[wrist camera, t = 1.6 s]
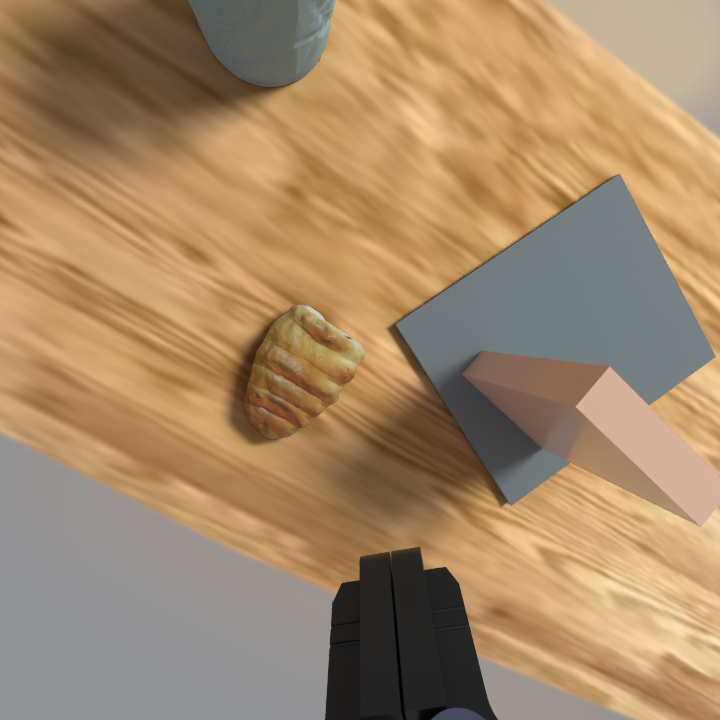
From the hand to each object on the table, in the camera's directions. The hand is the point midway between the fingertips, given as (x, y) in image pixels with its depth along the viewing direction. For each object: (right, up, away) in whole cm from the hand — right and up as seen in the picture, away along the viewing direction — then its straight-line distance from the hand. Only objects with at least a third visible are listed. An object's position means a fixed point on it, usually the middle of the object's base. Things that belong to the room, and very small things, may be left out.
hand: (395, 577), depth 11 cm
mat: (+15, +7, +24) cm, 29 cm away
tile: (+11, +2, +24) cm, 26 cm away
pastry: (-5, +5, +22) cm, 23 cm away
